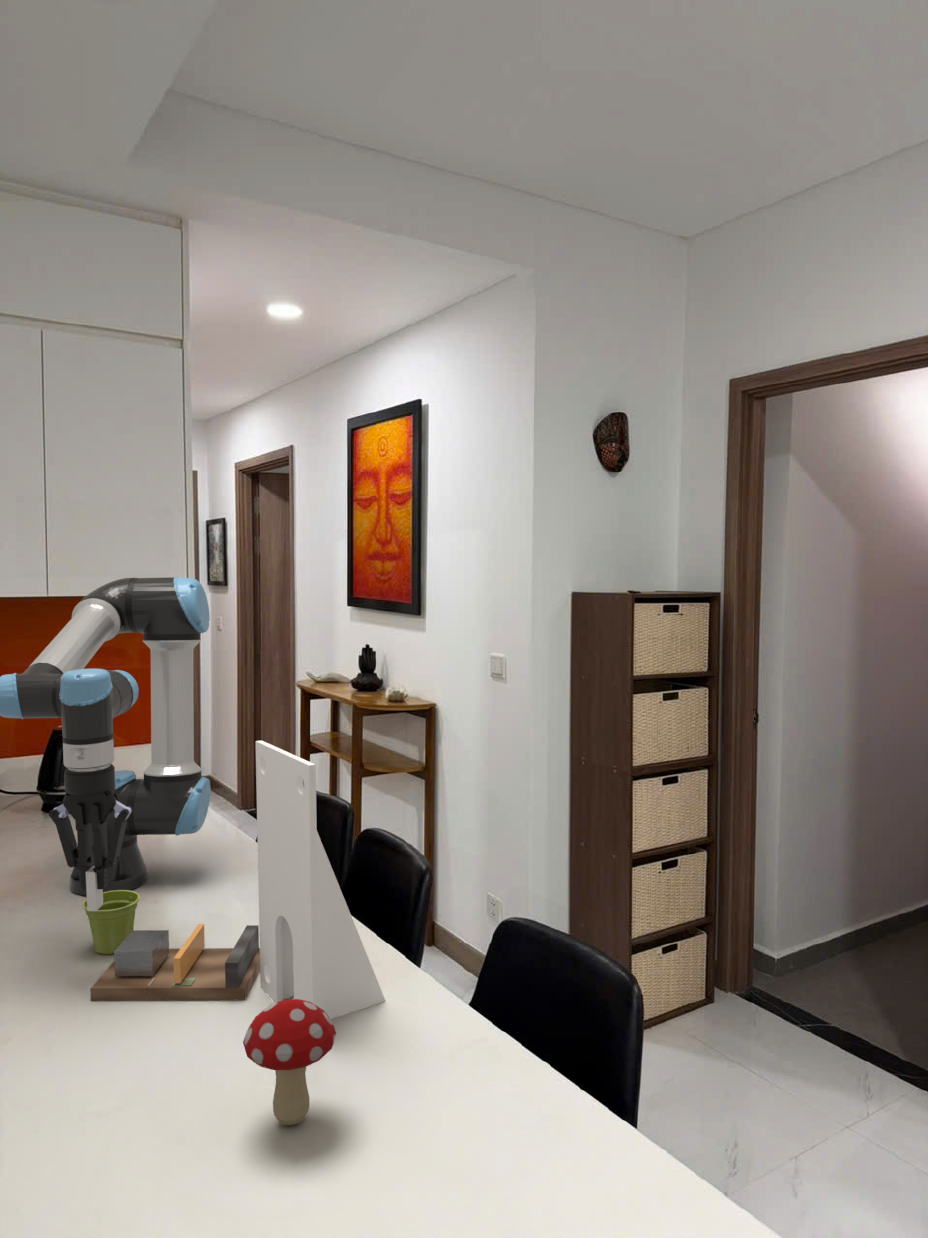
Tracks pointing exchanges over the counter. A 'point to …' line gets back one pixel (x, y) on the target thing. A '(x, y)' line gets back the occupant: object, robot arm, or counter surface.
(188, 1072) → the counter surface
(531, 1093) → the counter surface
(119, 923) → the plant pot
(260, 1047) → the decorative mushroom
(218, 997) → the gauge board
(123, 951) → the grey foam block
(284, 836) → the white bracket plate
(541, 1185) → the counter surface
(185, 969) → the upright wooden plank
